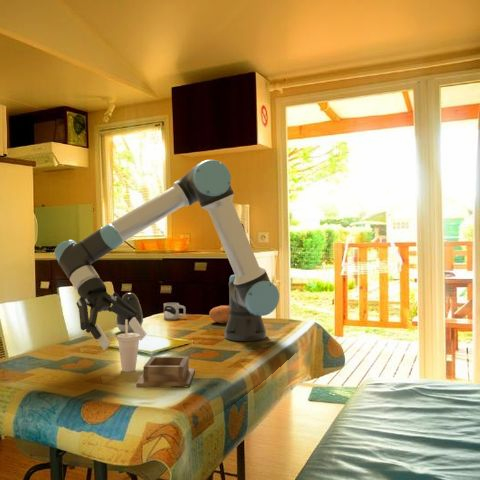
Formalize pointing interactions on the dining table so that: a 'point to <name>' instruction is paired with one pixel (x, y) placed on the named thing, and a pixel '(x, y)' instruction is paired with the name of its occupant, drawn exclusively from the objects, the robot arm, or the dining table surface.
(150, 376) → the box
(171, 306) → the mug
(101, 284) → the robot arm
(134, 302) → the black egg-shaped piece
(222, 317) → the potato
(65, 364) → the dining table surface
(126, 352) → the smoothie
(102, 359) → the dining table surface
